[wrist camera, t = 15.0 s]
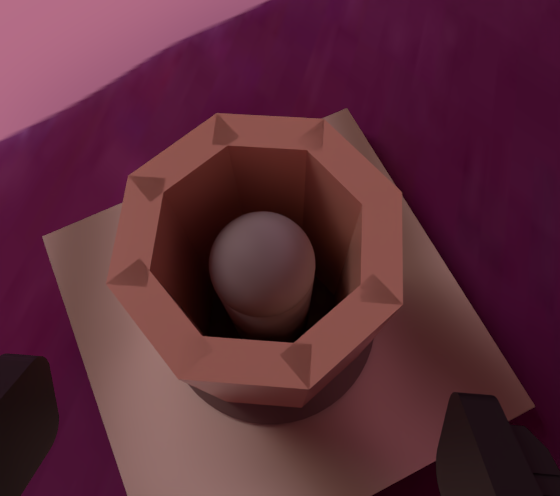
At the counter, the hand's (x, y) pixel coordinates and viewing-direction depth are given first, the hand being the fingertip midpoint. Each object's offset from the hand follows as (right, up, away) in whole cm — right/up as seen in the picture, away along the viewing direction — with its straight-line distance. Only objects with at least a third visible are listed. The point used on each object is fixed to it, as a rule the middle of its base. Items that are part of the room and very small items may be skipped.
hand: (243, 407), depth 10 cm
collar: (0, +1, +9) cm, 9 cm away
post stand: (0, 0, +10) cm, 10 cm away
